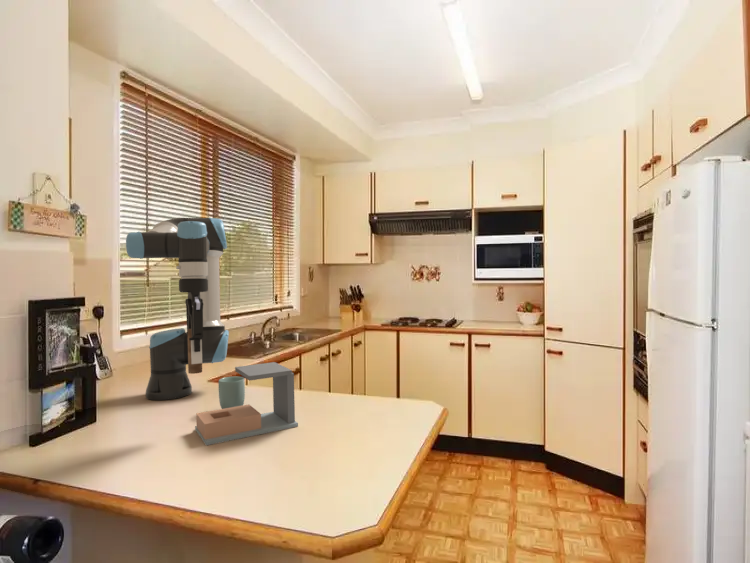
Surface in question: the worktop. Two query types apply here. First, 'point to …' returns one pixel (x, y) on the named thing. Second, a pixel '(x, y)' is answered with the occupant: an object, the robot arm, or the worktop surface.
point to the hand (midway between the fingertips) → (195, 362)
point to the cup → (231, 391)
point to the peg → (191, 367)
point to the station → (252, 409)
